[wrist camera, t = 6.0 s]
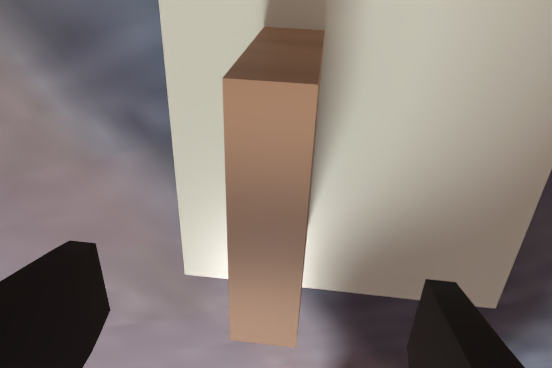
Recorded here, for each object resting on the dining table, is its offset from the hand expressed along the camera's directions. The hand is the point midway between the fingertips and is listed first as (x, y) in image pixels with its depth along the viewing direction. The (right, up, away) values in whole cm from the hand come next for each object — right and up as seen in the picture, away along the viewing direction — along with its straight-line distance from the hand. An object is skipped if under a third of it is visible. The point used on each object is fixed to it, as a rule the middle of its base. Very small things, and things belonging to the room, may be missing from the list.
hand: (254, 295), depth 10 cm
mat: (+4, +5, +6) cm, 9 cm away
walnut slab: (+1, +4, +7) cm, 8 cm away
